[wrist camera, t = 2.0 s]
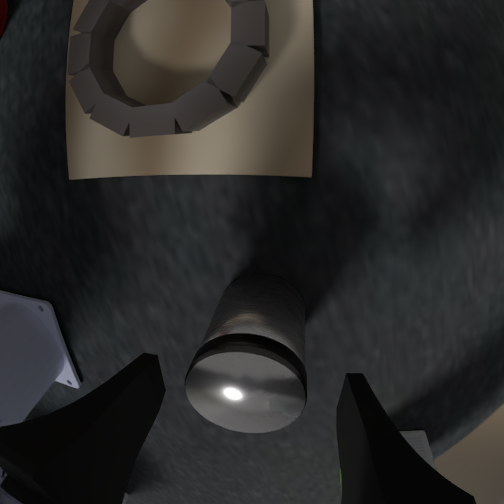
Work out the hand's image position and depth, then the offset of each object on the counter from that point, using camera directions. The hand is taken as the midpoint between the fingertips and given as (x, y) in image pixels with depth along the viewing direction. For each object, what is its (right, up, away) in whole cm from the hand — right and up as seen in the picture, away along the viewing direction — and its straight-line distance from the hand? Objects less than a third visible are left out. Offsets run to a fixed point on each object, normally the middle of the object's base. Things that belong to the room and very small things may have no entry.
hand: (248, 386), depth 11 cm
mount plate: (-3, +14, +1) cm, 15 cm away
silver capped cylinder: (+1, +2, +5) cm, 5 cm away
